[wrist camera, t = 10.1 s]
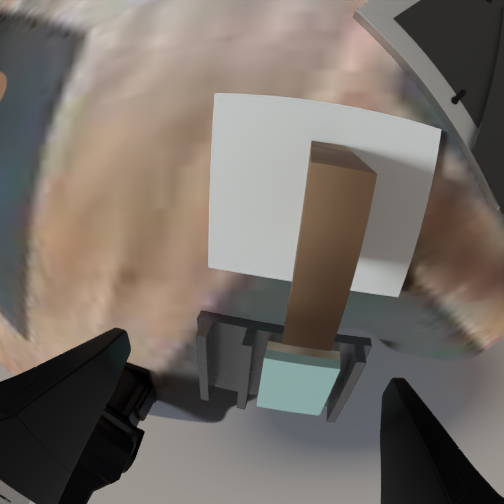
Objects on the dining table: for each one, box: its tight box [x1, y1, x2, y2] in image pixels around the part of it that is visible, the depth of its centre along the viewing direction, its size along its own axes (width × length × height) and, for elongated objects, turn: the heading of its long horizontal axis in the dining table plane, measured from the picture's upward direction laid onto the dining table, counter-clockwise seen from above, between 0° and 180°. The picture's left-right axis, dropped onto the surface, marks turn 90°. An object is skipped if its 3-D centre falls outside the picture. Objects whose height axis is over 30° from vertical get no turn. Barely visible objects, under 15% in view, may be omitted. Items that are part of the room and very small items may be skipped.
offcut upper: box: [256, 349, 340, 415], centre depth 23 cm, size 6×7×1 cm
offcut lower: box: [266, 341, 340, 360], centre depth 24 cm, size 6×7×1 cm
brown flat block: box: [282, 140, 377, 351], centre depth 14 cm, size 2×7×9 cm, turn 176°
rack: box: [196, 311, 372, 422], centre depth 24 cm, size 14×9×3 cm, turn 86°
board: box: [208, 93, 441, 297], centre depth 18 cm, size 14×12×1 cm
